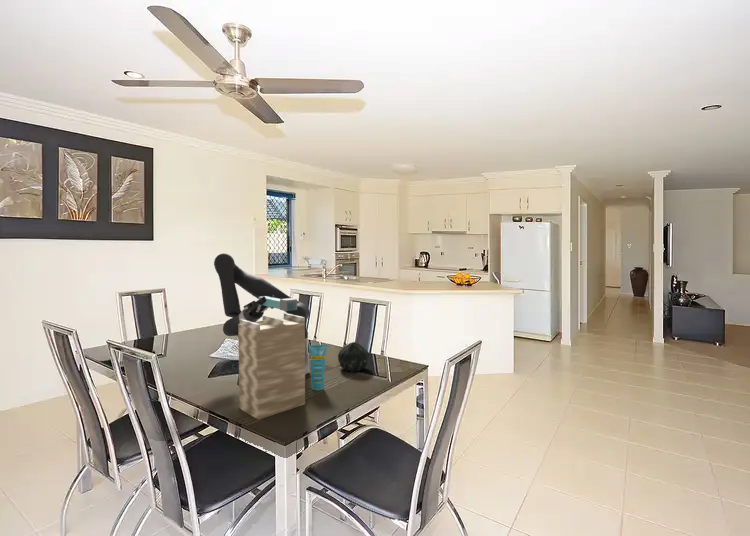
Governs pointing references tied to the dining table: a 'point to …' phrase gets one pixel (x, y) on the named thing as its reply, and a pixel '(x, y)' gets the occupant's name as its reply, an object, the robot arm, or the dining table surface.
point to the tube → (317, 365)
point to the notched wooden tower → (271, 365)
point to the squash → (353, 357)
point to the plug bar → (281, 303)
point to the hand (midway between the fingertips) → (269, 298)
